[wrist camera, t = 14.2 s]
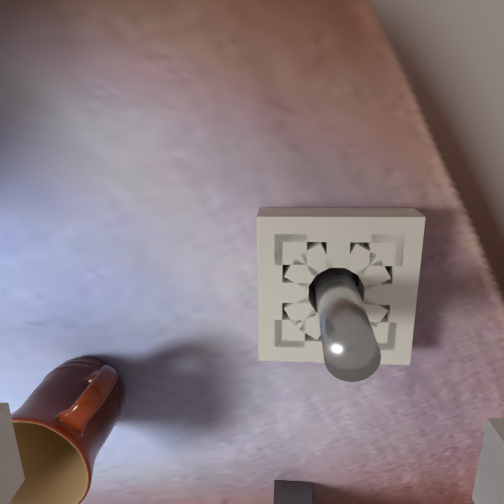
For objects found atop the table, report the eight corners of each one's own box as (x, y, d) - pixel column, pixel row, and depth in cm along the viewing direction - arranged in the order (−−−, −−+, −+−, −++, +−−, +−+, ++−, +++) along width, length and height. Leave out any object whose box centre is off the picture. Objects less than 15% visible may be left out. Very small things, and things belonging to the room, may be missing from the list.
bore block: (260, 342, 39) (258, 360, 36) (259, 207, 35) (256, 216, 33) (401, 345, 38) (409, 365, 35) (414, 208, 34) (425, 217, 32)
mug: (102, 440, 44) (49, 534, 34) (29, 386, 43) (-48, 469, 33) (176, 363, 41) (140, 444, 31) (99, 303, 39) (36, 367, 30)
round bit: (313, 297, 37) (323, 380, 26) (314, 261, 37) (325, 331, 25) (352, 298, 37) (378, 382, 26) (354, 262, 36) (382, 332, 25)
